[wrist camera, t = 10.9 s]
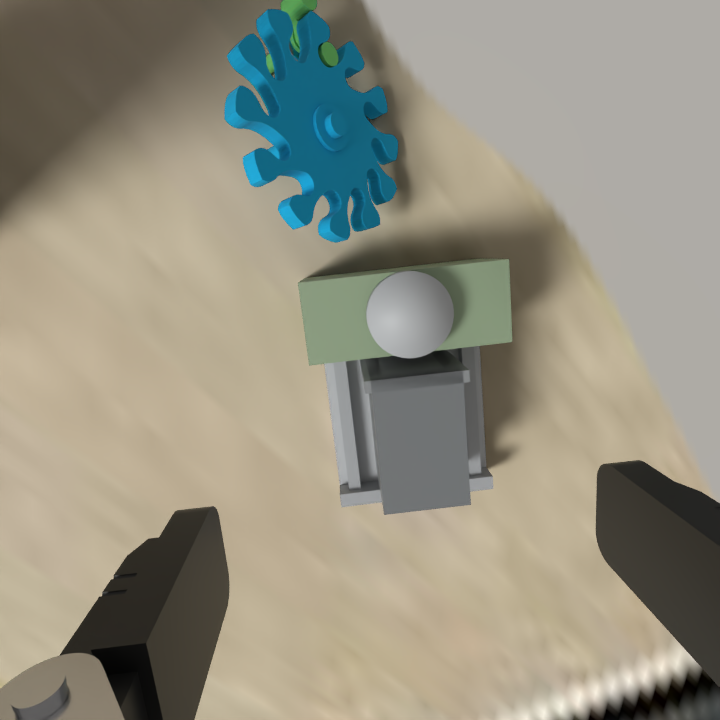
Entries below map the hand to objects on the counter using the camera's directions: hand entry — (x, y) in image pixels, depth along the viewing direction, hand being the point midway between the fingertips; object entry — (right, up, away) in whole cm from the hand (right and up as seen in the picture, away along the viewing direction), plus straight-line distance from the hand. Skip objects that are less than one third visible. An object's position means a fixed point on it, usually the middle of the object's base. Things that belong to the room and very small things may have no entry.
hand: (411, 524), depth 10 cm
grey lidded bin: (+2, 0, +18) cm, 18 cm away
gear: (-3, +15, +16) cm, 22 cm away
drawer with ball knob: (+2, +2, +19) cm, 19 cm away
